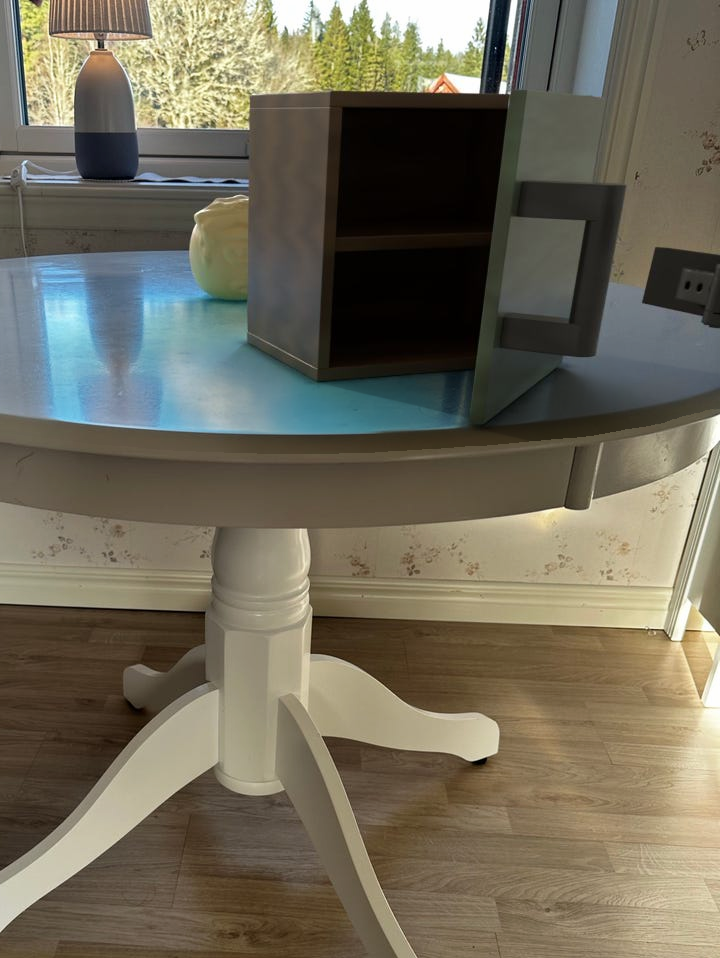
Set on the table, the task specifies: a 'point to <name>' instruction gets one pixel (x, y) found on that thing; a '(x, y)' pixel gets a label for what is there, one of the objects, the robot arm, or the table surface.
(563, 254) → the cupboard door
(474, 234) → the cupboard
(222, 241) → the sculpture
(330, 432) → the table surface
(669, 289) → the robot arm
